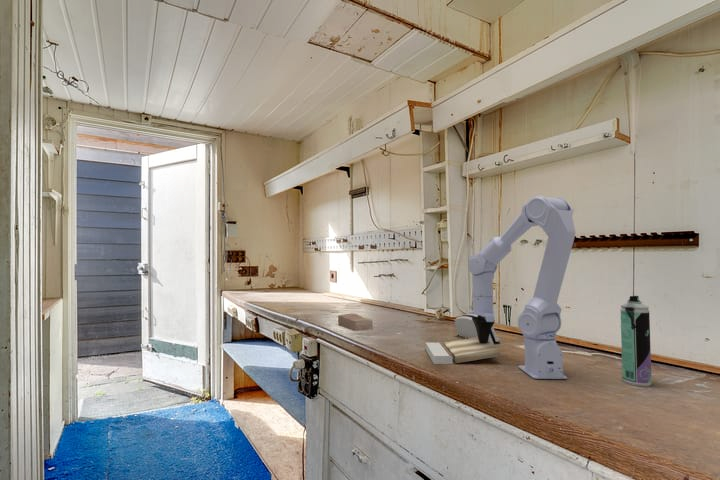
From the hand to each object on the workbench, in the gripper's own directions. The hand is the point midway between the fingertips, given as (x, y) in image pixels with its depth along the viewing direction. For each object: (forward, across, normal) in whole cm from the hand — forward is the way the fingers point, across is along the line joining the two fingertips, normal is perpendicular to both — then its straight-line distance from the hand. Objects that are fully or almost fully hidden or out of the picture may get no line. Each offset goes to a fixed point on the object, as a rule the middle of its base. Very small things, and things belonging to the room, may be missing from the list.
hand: (483, 342), depth 112 cm
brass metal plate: (+3, 0, -4) cm, 5 cm away
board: (+4, 0, -13) cm, 14 cm away
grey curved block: (+4, -22, +4) cm, 23 cm away
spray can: (+4, +22, +29) cm, 37 cm away
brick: (+5, -46, -39) cm, 61 cm away
